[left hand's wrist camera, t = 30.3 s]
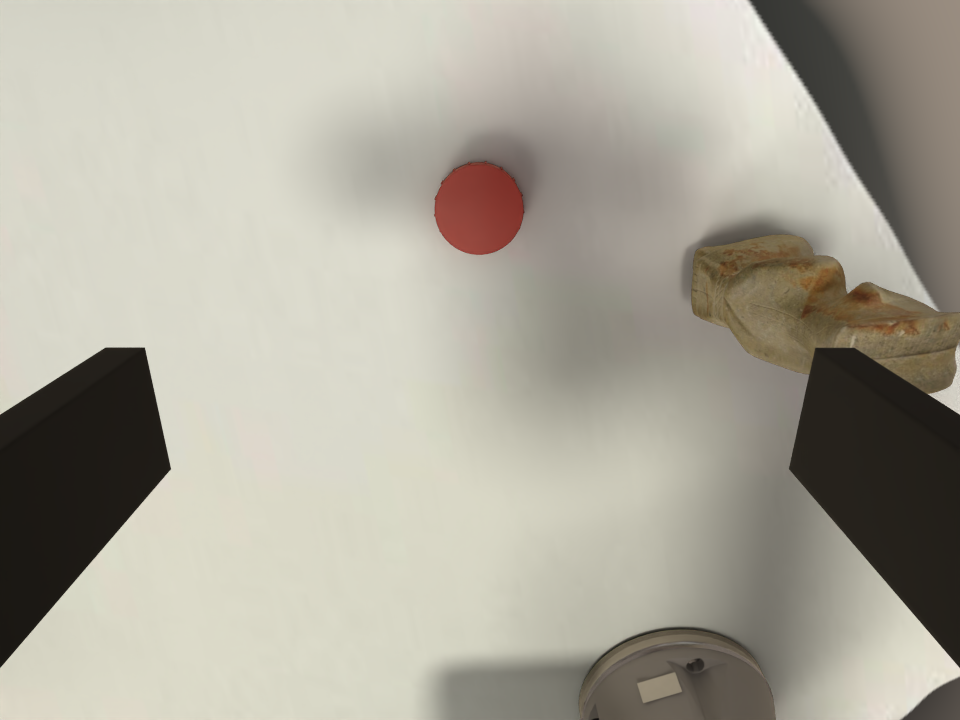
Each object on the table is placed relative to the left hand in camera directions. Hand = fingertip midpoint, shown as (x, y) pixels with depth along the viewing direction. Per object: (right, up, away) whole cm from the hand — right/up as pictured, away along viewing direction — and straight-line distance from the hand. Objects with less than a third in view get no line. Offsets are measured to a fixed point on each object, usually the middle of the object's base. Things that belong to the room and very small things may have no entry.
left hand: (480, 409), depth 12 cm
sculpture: (+16, +6, +26) cm, 31 cm away
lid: (0, +10, +23) cm, 25 cm away
